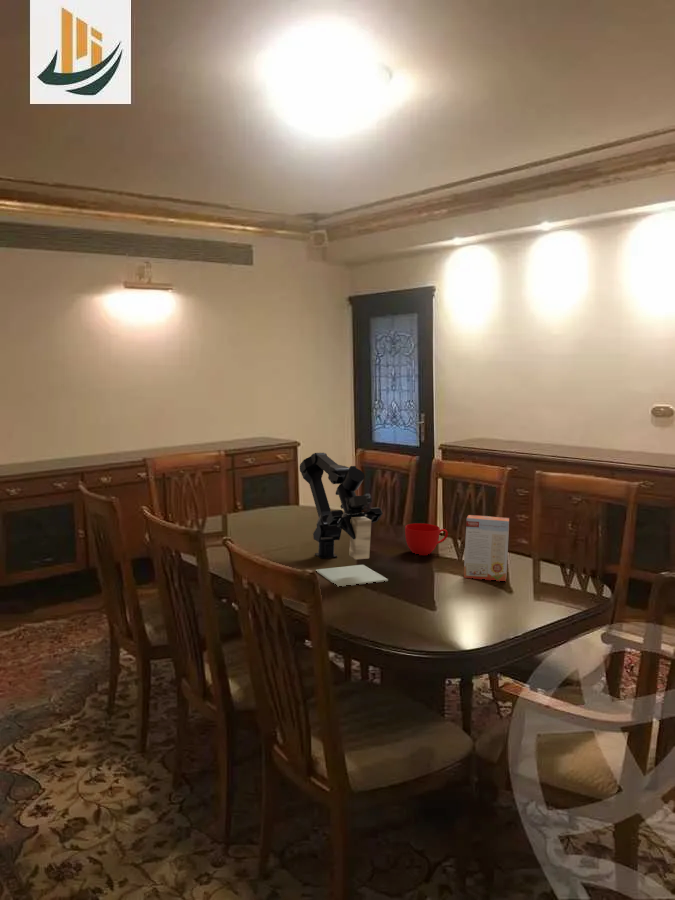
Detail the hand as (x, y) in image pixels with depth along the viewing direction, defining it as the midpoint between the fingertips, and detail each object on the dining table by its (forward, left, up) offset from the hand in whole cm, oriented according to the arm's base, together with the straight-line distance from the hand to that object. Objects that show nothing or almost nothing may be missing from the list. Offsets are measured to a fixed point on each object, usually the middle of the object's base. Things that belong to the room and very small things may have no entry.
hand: (362, 538), depth 240 cm
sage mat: (-3, -2, -13) cm, 14 cm away
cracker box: (+14, +40, -14) cm, 45 cm away
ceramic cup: (-20, +38, -14) cm, 45 cm away
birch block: (-1, 0, -7) cm, 7 cm away
